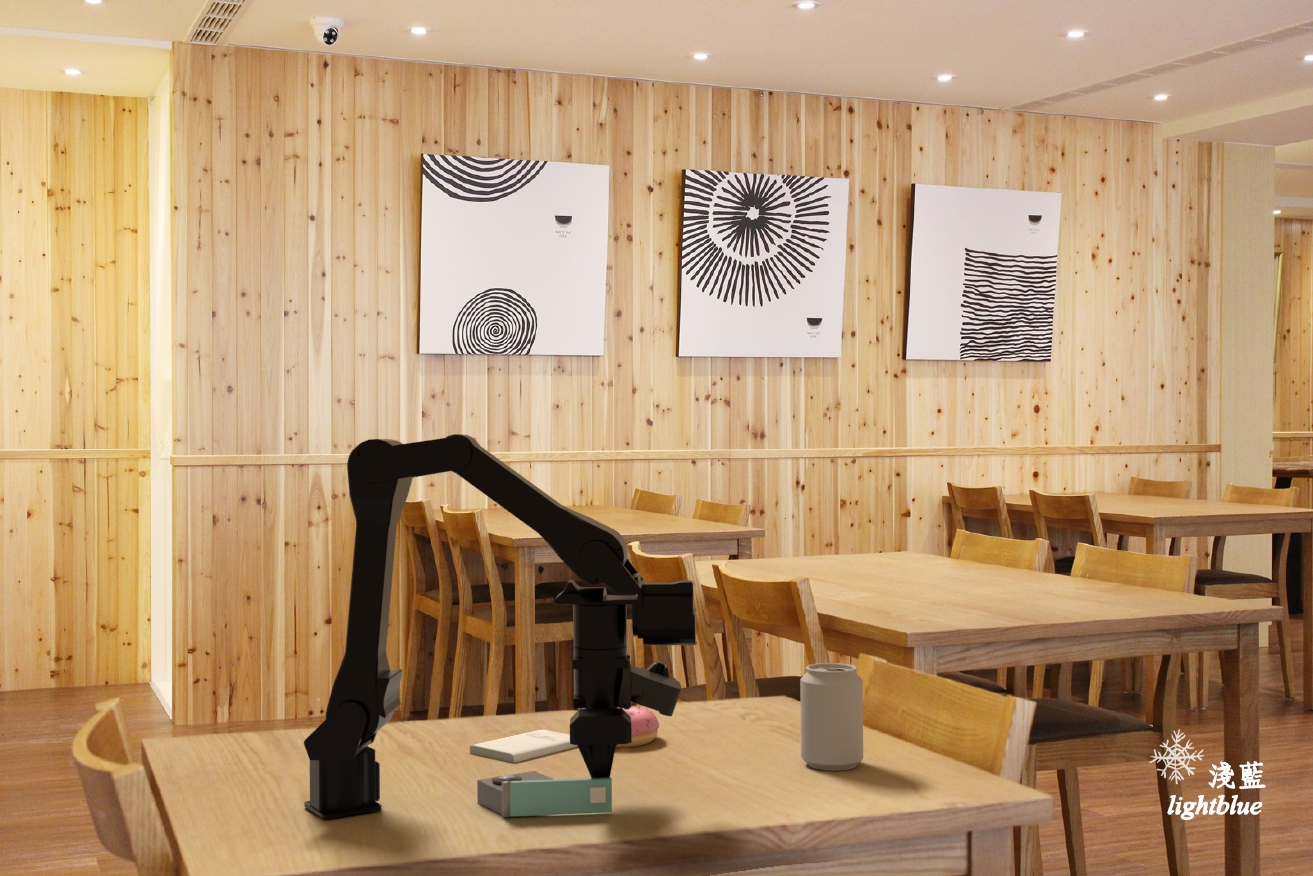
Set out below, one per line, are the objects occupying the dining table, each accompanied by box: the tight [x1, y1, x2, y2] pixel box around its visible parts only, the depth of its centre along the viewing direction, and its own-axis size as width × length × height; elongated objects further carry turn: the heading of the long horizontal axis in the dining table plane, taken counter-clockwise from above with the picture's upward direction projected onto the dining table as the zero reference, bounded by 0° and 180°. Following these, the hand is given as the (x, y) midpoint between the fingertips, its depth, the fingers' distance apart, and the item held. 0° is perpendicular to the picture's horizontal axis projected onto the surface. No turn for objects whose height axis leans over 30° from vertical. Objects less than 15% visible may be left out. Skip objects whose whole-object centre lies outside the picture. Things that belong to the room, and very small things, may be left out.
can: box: [799, 662, 864, 772], centre depth 162 cm, size 8×8×12 cm
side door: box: [501, 777, 613, 818], centre depth 140 cm, size 12×1×4 cm, turn 97°
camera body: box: [476, 770, 556, 816], centre depth 145 cm, size 7×6×3 cm
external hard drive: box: [469, 729, 578, 764], centre depth 171 cm, size 2×8×12 cm
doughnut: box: [615, 705, 660, 749], centre depth 176 cm, size 11×11×4 cm
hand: (602, 791), depth 142 cm, fingers closed
